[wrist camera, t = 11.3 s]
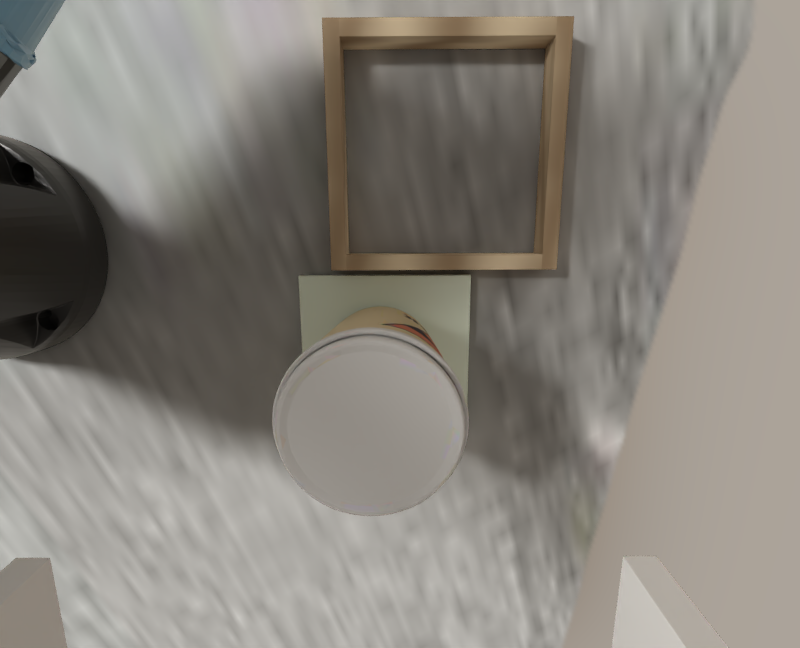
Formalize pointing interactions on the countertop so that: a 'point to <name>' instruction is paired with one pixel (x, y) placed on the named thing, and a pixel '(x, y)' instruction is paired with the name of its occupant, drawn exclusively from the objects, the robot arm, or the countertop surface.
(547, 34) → the oak frame
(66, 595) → the countertop surface
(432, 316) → the sage tile
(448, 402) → the coffee cup
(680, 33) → the countertop surface
